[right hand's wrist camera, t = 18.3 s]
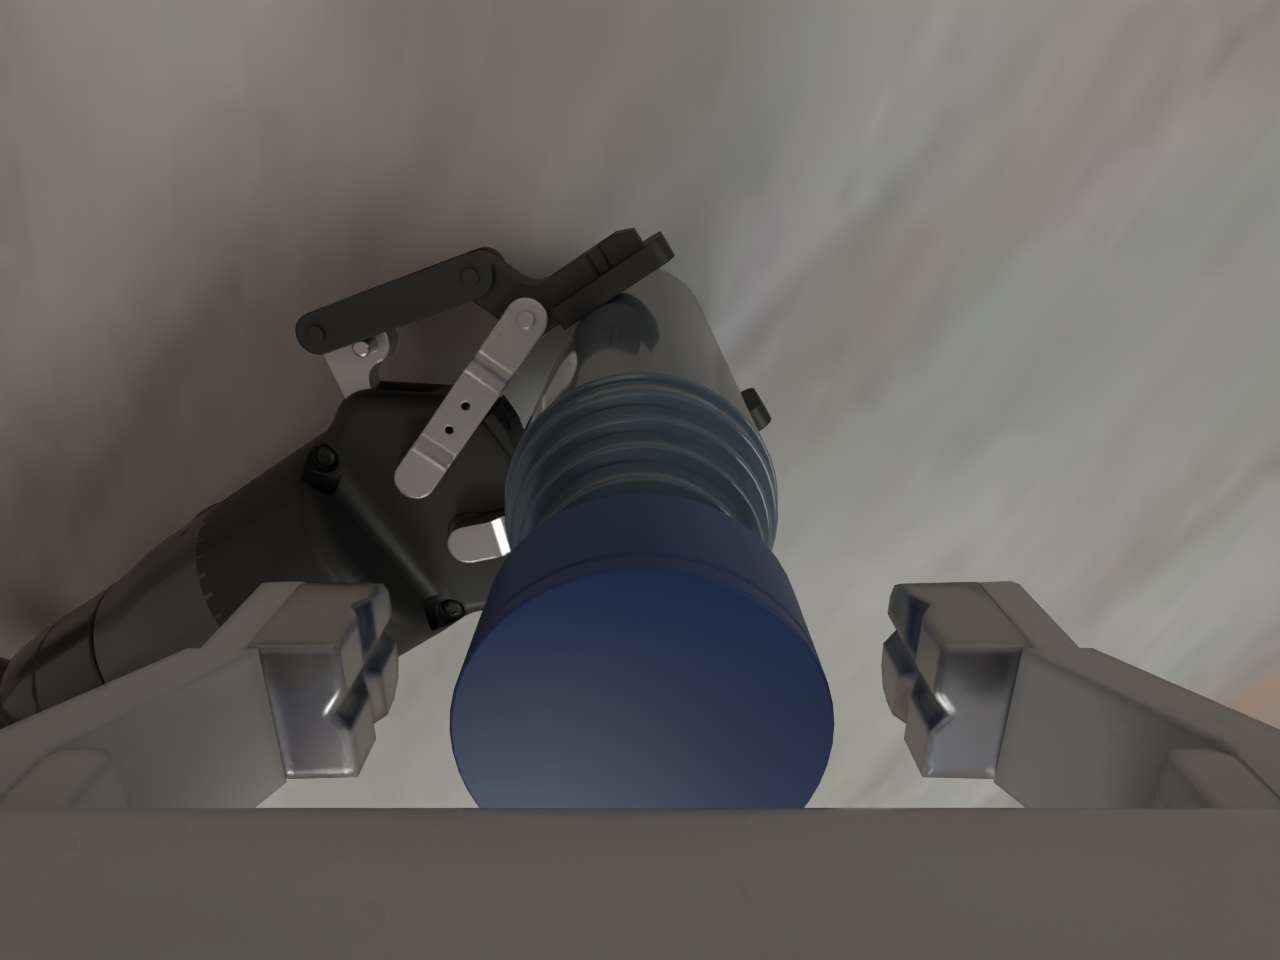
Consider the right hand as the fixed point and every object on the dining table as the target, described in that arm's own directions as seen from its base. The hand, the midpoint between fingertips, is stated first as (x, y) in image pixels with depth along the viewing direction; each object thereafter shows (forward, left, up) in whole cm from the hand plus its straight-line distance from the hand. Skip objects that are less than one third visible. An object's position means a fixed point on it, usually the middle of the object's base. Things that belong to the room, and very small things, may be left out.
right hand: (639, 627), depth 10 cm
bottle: (0, 0, -21) cm, 21 cm away
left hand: (-2, -1, -14) cm, 14 cm away
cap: (0, 0, +2) cm, 2 cm away
